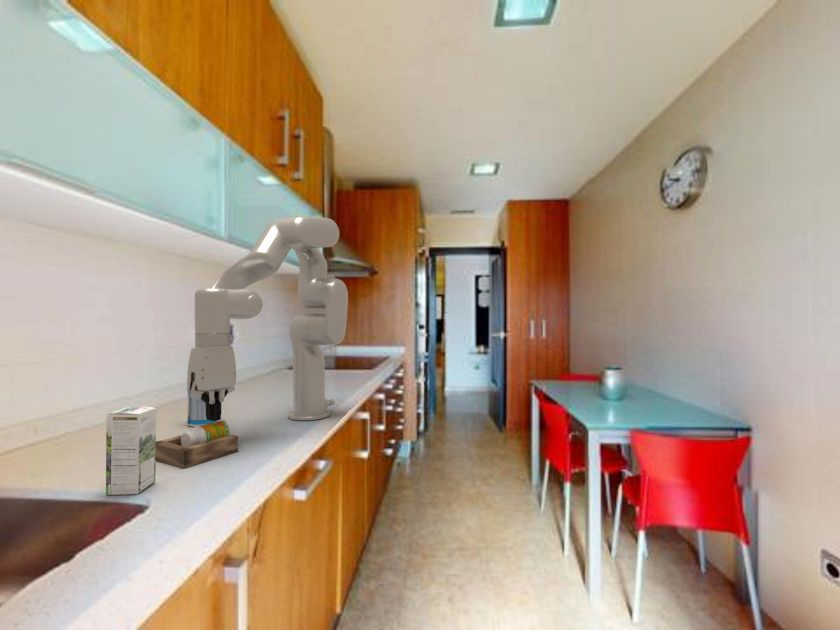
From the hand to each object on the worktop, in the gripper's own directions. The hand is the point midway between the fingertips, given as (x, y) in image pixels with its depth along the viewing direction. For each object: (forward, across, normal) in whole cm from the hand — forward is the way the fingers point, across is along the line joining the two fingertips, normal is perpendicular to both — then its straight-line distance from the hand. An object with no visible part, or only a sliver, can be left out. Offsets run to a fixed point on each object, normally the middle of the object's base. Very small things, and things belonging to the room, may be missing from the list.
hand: (213, 419), depth 104 cm
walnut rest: (+7, +4, 0) cm, 8 cm away
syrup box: (+7, +22, +8) cm, 25 cm away
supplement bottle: (+4, -4, -1) cm, 5 cm away
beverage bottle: (+7, -14, -25) cm, 30 cm away
